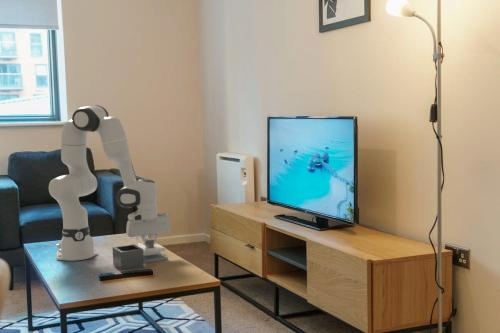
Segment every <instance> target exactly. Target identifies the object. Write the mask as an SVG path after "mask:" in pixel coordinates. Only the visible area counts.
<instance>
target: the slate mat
mask: <svg viewBox="0 0 500 333" xmlns="http://www.w3.org/2000/svg"><path fill="white" fill-rule="evenodd" d="M143 256H144V264H145V263H153V262H160V261H167V260H169V257H168V256H166V255H164V254H163V253H161V254H155V255H148V256H145V255H144V254H143Z"/></svg>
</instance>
